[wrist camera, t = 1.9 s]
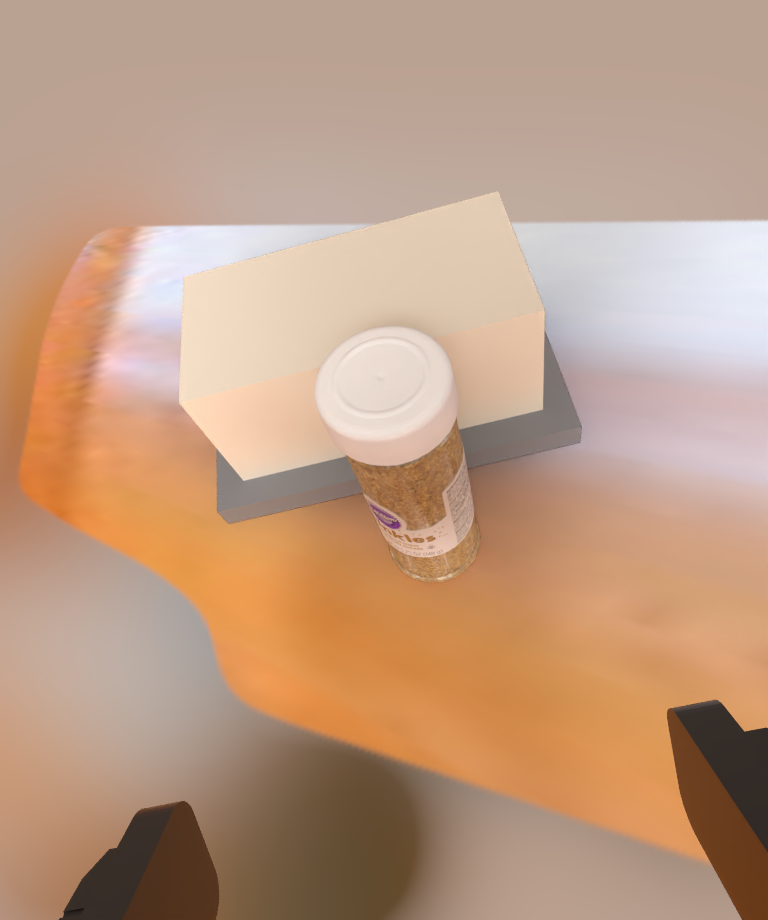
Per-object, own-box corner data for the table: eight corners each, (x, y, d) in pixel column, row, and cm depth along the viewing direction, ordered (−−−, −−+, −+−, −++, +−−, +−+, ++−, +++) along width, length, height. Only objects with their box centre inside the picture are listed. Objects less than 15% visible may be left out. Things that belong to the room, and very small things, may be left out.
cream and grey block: (523, 293, 38) (521, 163, 31) (579, 442, 32) (593, 327, 25) (226, 369, 40) (156, 264, 33) (228, 523, 34) (144, 439, 27)
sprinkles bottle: (376, 569, 31) (285, 416, 20) (410, 490, 33) (345, 309, 22) (464, 599, 29) (420, 452, 18) (495, 514, 31) (473, 332, 20)
